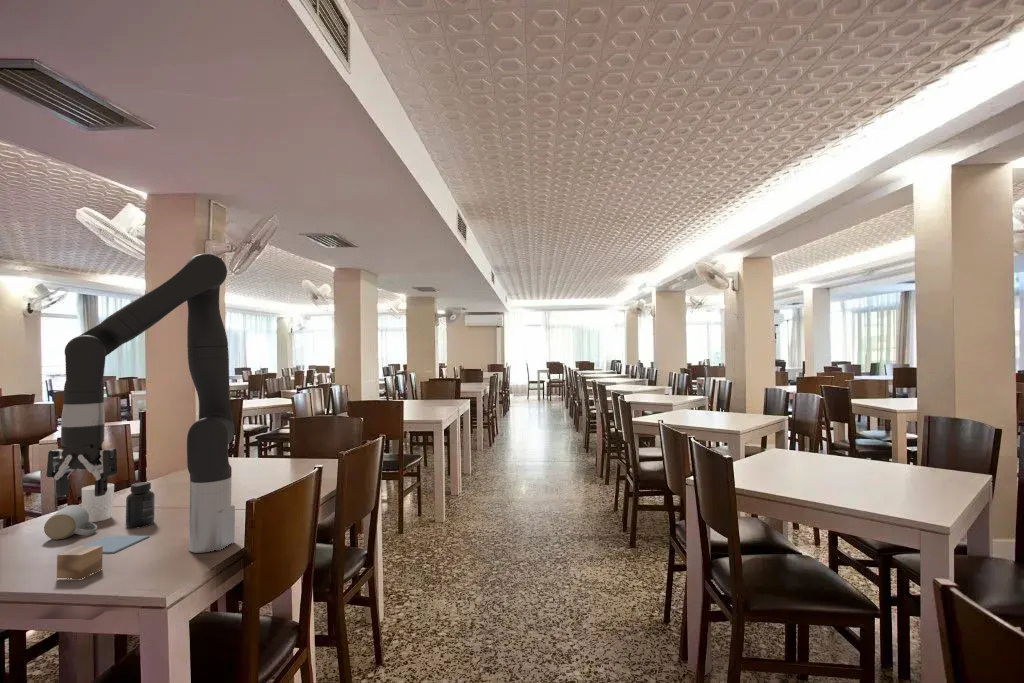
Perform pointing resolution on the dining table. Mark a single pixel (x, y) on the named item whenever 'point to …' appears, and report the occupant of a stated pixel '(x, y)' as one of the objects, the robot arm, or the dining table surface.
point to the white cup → (98, 503)
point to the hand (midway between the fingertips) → (81, 495)
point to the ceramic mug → (69, 523)
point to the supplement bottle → (140, 505)
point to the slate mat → (116, 542)
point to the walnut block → (79, 562)
